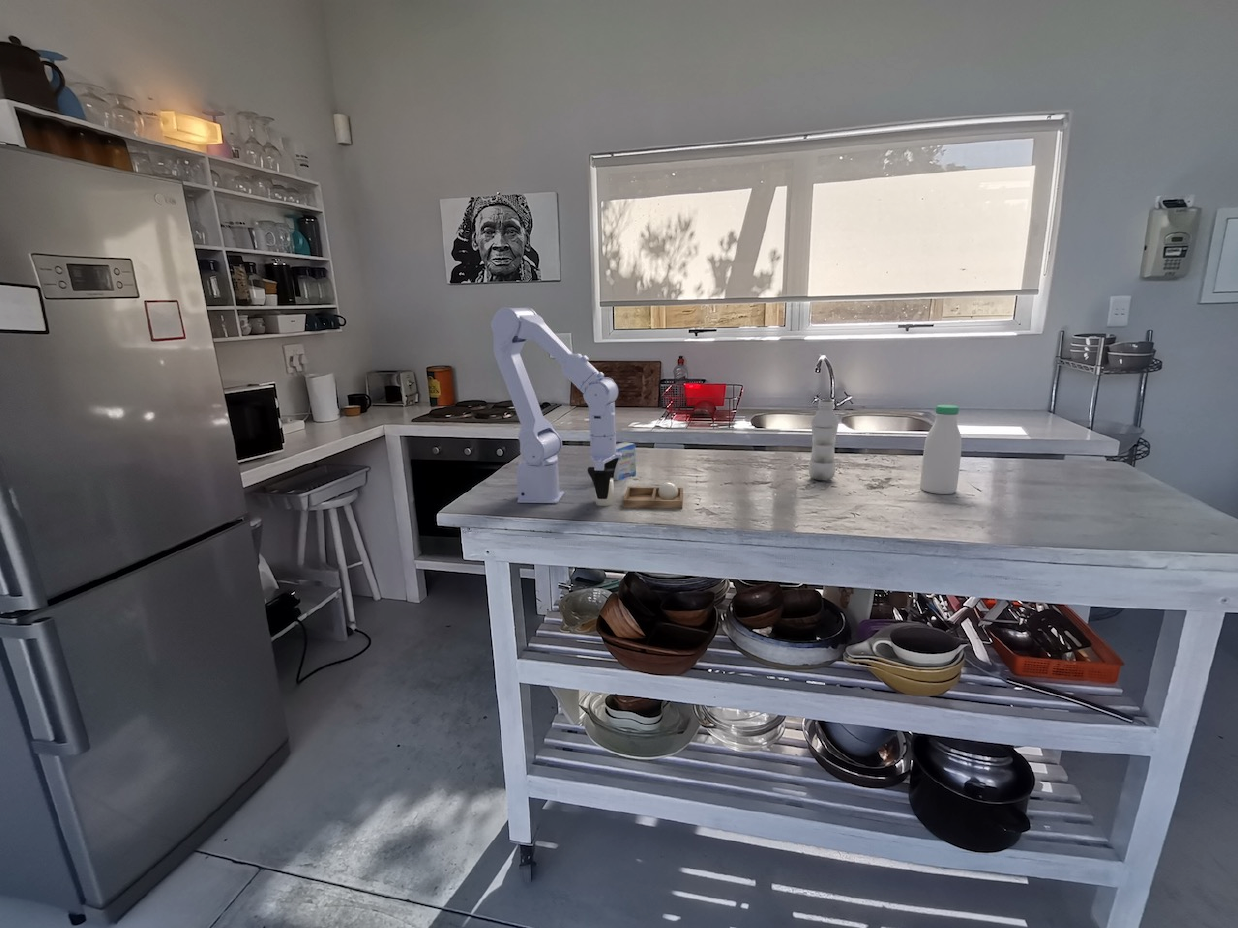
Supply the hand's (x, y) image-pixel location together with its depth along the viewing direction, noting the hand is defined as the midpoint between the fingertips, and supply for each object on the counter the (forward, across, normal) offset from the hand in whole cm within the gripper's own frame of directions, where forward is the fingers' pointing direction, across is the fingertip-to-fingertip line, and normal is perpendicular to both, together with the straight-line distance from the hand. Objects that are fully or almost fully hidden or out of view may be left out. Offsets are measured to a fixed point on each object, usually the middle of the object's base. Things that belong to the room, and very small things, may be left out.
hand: (604, 493), depth 137 cm
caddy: (+3, +2, -11) cm, 11 cm away
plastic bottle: (+3, +23, -52) cm, 57 cm away
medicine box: (+3, +23, -1) cm, 23 cm away
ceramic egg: (+2, +2, -14) cm, 15 cm away
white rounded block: (+3, 0, 0) cm, 3 cm away
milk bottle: (+3, +15, -77) cm, 78 cm away
